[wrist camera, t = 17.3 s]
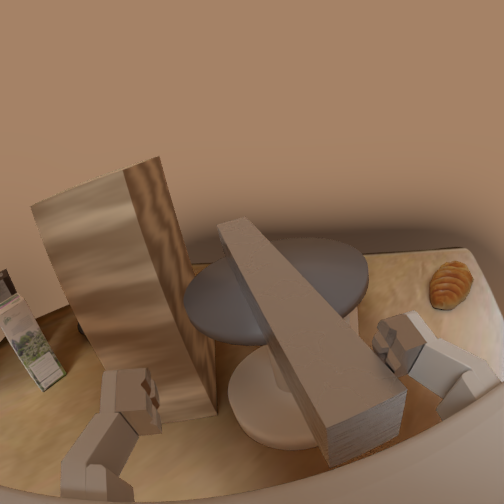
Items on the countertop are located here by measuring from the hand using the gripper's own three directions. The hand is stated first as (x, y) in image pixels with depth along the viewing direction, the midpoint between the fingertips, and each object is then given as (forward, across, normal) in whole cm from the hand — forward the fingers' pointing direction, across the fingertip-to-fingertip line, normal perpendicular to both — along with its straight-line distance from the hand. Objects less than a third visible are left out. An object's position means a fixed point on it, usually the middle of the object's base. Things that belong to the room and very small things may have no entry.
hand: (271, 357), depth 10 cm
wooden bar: (+9, -3, +6) cm, 11 cm away
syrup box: (+23, +30, +31) cm, 49 cm away
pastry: (+16, -33, +20) cm, 41 cm away
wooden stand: (+18, +7, +26) cm, 32 cm away
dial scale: (+9, -6, +22) cm, 24 cm away
